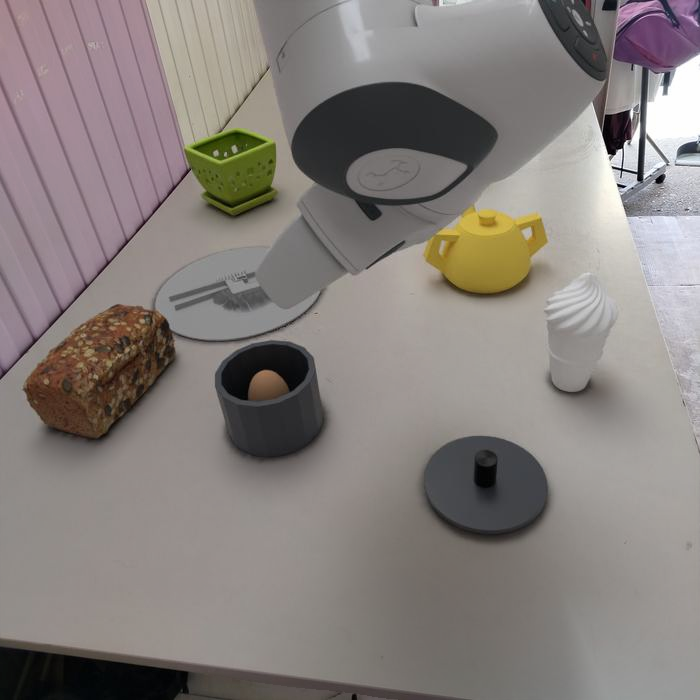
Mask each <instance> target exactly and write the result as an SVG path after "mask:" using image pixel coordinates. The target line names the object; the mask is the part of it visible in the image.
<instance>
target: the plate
mask: <svg viewBox="0 0 700 700" xmlns="http://www.w3.org/2000/svg"><path fill="white" fill-rule="evenodd" d="M270 247H271V246H253V247H251V246H249V247H240V248H233V249H229V250H225V251H220V252H217V253H214V254H211V255H208V256H206V257H203V258H201V259H198V260H196V261H194V262H192V263H190V264H188V265H186V266H185V267H183V268H182V269H180V270H179V271H178V272H176V273H175V274H173V275H172V276H171V277H170V278H169V279H168V280H167V281H166V282H165V283H164V284H163V285H162V287H161V288H160V289H159V291H158V293H157V295H156V299H155V302H154V308H155V309H154V310H156V311H158V312H159V313H161V314H162V315H163V316H164V317H165V318H166V319H167V321H168V323H169V325H170V326H169V328H170V330H171V331H172V333H174V334H176V335H179V336H182V337H184V338H188V339H193V340H197V341H205V342H229V341H239V340H244V339H249V338H254V337H258V336H261V335H265V334H268V333H270V332H274V331H275V330H278V329H281V328H282V327H285V326H286V325H288V324H290V323H292V322H293V321H295V320H297V319H298V318H300V317H301V316H302V315H304V314H305V313H306V312H307V311H309V309H310V308H311V307H312V306H313V305H314V304H315V303H316V301H317V300H318V298H319V296H320V294H321V292H322V290H320V291H318V292H317V293H315V294H314V295H312V296H310V297H309V298H307V299H305V300H304V301H302V302H301V303H299V304H297V305H295V306H294V307H292V308H289V309H282V308H280V307H278V306H277V305H276V304H275V303H274V302H273V301H272V300H271V299H270V298H269V297H268V295H267V294H266V293H265V292H264V290H263V289H262V288H261V286H260V285H259V283H258V282H257V280H256V277H255V271H256V268H257V266H258V265H259V263H260V262H261V260H262V259H263V257H264V256H265V254H266V253H267V251H268V250H269V249H270Z"/></svg>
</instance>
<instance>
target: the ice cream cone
mask: <svg viewBox="0 0 700 700" xmlns="http://www.w3.org/2000/svg"><path fill="white" fill-rule="evenodd" d="M545 302H546V304H547V307H545V308H544V309H543V313H544V314H546V315H547V317H546V318H545V321H546V328H547V343H546V350H547V353H548V358H549V366H550V376H551V382H552V383H553V386H555V387H556V388H557V389H558V390H561V391H563V392H568V393H576V392H581V391H582V390H584V389H585V388H586V386H587V385H588V383H589V380H590V379H591V377H592V375H593V373H594V370H595V368H596V367H597V365H598V362H599V361H600V360H601V358H602V356H603V354H604V347H605V345H606V340H607V339H608V337H609V336H610V333H611V329H612V328H613V327H614V326H615V325H616V323H617V320H618V318H619V308H618V305H617V302H615V300H614V298H613V297H612V296H611V295H610V294H609V293H607V292H606V291H605V290H604V287H603V285H602V283H601V281H600V279H599V278H598V277H597V276H596V275H595V274H594V273H592V272H589V271H588V272H584V273H582V274H580V275H579V276H578V277H576V278H575V279H573V280H572V281H571V282H570V283H569V285H567V286H564V287H562V289H561V290H558V291H554V292H553V293H552V297H549V298H547V300H546V301H545Z"/></svg>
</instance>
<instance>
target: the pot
mask: <svg viewBox="0 0 700 700" xmlns="http://www.w3.org/2000/svg"><path fill="white" fill-rule="evenodd" d="M263 370H270V371H273V372H275V373H277V374H278V375H279V376H280V377H281V378H282V379H283V380H284V381H285V383H286V384H287V386H288V389H289V391H290V393H288V394H285V395H283V396H281V397H279V398H277V399H271V400H266V401H260V402H256V401H249V400H248V391H249V387H250V383H251V381H252V379H253V377H254V376H255V375H256V374H257V373H258V372H260V371H263ZM214 389H215V392H216V395H217V399H218V402H219V404H220V408H221V412H222V416H223V419H224V422H225V426H226V429H227V432H228V435H229V436H230V439H231V441H232V442H233V444H234V445H235V446H236V447H237V448H238V449H239V450H241V451H242V452H244V453H246V454H249V455H251V456H255V457H261V458H274V457H282V456H286V455H289V454H292V453H294V452H296V451H299V450H301V449H302V448H304V447H306V446H307V445H308V444H309V443H310V442H312V441H313V440H314V439H315V438H316V436H318V434H319V432H320V431H321V428H322V425H323V422H324V413H323V411H324V410H323V406H322V400H321V394H320V387H319V381H318V374H317V368H316V363H315V358H314V356H313V355H312V354H311V352H310V351H308V349H306V347H304V346H302V345H300V344H297V343H295V342H292V341H287V340H278V339H277V340H275V339H270V340H264V341H259V342H252V343H249V344H248V345H245V346H243V347H241V348H238V349H236V350H234V351H233V352H232V353H231V354H229V355H228V356H226V357H225V358H224V359H223V360H222V361H221V362H220V365H219V366H218V367H217V369H216V371H215V372H214Z"/></svg>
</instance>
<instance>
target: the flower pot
mask: <svg viewBox="0 0 700 700" xmlns="http://www.w3.org/2000/svg"><path fill="white" fill-rule="evenodd" d="M276 145H277V144H276V142H275V140H273V139H271V138H270V137H267V136H264V135H262V134H259V133H257V132H254V131H251V130H248V129H245V128H241V127H233V128H230V129H227V130H224V131H221V132H219V133H215V134H213V135H210V136H207V137H204V138H202V139H199V140H197V141H195V142H193V143H190V144H188V145H186V146H184V147H183V152H184V156H185V158H186V160H187V163H188V166H189V167H190V169H191V172H192V173H193V175H194V177H195V178H196V180H197V182H198V183H199V184H200V185H201V187H202V188H203V189H204V190H205V191H203V192H201V193H200V196H201V198H202V199H203V200H204V201H206V202H207V203H209V204H210V205H213V207H214V206H215V207H216V208H218V209H220V210H222V211H223V212H226V213H228V214H229V215H232V216H237V215H239V214H242V213H244V212H247V211H248V210H251V209H253V208H255V207H258V206H259V205H262V204H264V203H269V202H271V200H272V199H273V198H274V197H275V196H276V195H277V193H278V189H277V188H275V187H274V186H272V184H273V181H274V178H275V174H276V167H277V146H276ZM233 146H235V147H236V150H237V151H236V152H234V151H233ZM216 151H217V152H218V153H217V155H215V154H214V152H216ZM225 153H226V155H225Z"/></svg>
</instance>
